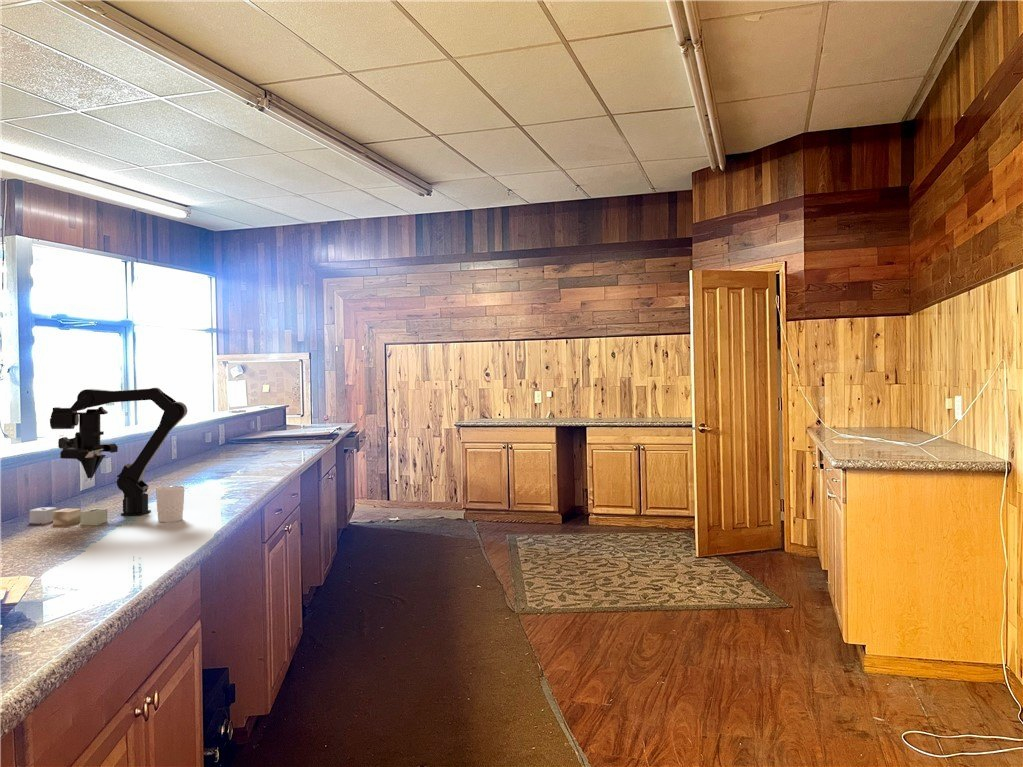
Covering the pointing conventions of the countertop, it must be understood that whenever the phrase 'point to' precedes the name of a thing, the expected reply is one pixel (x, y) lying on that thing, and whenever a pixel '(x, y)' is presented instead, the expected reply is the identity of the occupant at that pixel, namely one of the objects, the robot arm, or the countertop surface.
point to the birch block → (66, 516)
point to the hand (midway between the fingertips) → (90, 478)
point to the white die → (42, 515)
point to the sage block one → (93, 516)
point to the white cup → (170, 503)
